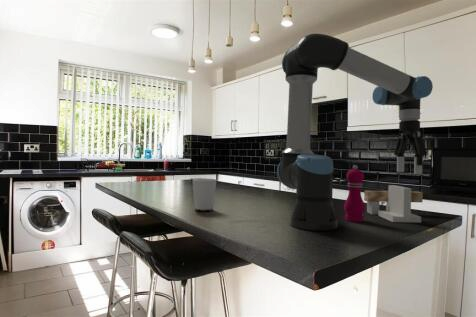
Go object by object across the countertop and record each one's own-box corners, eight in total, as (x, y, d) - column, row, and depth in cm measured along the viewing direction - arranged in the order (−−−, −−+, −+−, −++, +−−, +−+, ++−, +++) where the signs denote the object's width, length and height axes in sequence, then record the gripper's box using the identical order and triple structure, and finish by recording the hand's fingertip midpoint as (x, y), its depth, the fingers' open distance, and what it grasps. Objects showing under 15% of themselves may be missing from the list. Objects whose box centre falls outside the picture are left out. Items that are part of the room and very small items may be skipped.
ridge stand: (392, 222, 114) (393, 188, 114) (378, 215, 126) (378, 185, 126) (421, 222, 114) (421, 188, 114) (403, 216, 126) (404, 185, 125)
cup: (188, 209, 134) (189, 178, 133) (211, 207, 138) (211, 178, 137) (196, 213, 125) (196, 180, 124) (219, 211, 129) (220, 180, 128)
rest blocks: (371, 214, 128) (372, 201, 128) (366, 212, 133) (367, 200, 133) (399, 214, 128) (399, 202, 128) (393, 212, 133) (393, 200, 133)
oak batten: (367, 201, 129) (367, 191, 129) (364, 200, 132) (364, 190, 132) (422, 202, 129) (422, 192, 129) (417, 201, 132) (417, 191, 132)
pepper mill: (361, 218, 119) (362, 164, 119) (367, 222, 112) (368, 165, 112) (341, 217, 120) (342, 164, 119) (346, 222, 113) (347, 165, 112)
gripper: (437, 117, 118) (436, 174, 118) (403, 123, 143) (402, 171, 143) (417, 117, 118) (416, 174, 118) (386, 123, 143) (385, 171, 143)
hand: (408, 173), depth 130 cm, fingers open, 13 cm apart
